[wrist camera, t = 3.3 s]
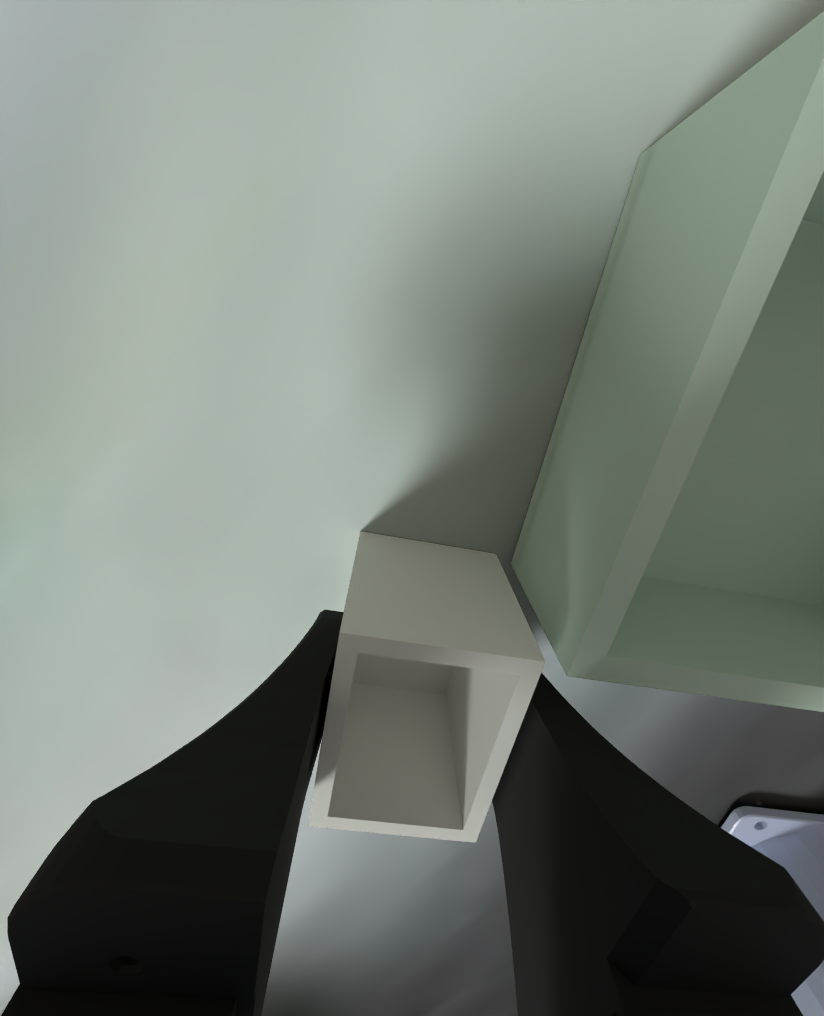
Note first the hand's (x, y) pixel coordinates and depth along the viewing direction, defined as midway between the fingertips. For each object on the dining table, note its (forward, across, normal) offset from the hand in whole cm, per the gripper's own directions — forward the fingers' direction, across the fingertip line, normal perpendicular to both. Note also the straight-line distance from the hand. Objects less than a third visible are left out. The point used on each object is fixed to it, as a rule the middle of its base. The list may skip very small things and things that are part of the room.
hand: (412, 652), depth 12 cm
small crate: (+1, 0, 0) cm, 1 cm away
